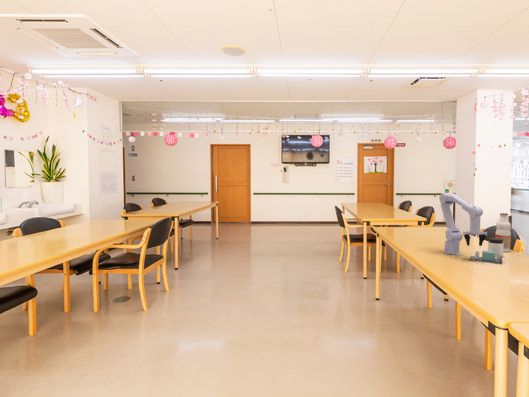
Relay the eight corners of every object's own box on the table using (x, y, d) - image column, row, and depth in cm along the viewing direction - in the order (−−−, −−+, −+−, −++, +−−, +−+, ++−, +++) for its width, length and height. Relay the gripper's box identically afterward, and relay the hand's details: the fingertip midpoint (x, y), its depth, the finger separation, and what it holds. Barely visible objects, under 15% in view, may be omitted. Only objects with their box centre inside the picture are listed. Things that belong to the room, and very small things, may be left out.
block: (481, 259, 228) (482, 252, 227) (482, 258, 231) (482, 250, 231) (494, 260, 223) (494, 253, 223) (495, 259, 227) (495, 252, 227)
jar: (498, 257, 235) (499, 240, 234) (486, 255, 242) (486, 238, 241) (504, 256, 240) (505, 239, 239) (491, 253, 247) (492, 237, 246)
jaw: (474, 258, 228) (475, 253, 228) (475, 256, 235) (475, 251, 235) (478, 259, 227) (478, 253, 227) (479, 256, 234) (479, 251, 233)
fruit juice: (507, 252, 249) (509, 214, 247) (492, 250, 256) (494, 213, 254) (511, 250, 255) (513, 213, 253) (497, 248, 262) (498, 212, 260)
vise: (469, 260, 229) (469, 253, 229) (470, 257, 237) (470, 250, 237) (502, 264, 219) (502, 257, 219) (502, 260, 227) (502, 254, 227)
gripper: (466, 226, 227) (465, 246, 229) (489, 226, 225) (488, 247, 226) (461, 224, 234) (460, 244, 236) (484, 225, 232) (483, 244, 233)
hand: (474, 245), depth 231 cm, fingers open, 7 cm apart
